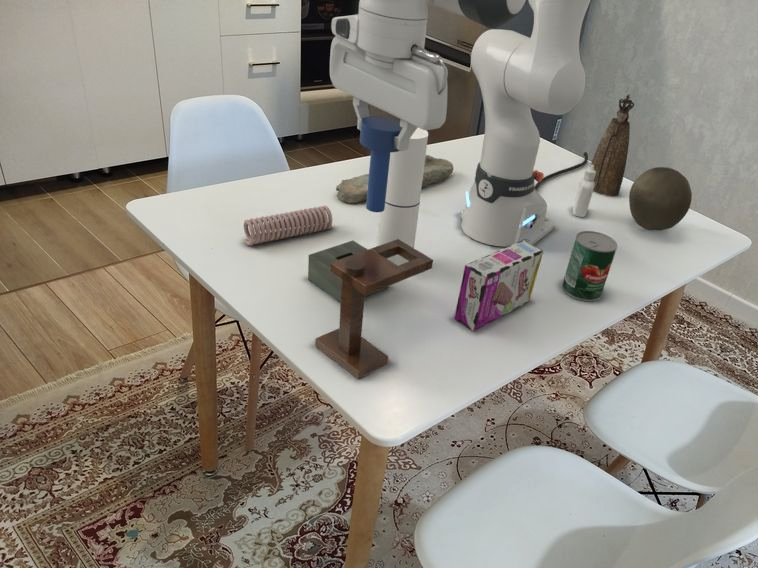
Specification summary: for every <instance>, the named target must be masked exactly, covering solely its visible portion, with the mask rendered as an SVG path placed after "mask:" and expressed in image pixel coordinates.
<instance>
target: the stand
mask: <svg viewBox="0 0 758 568" xmlns="http://www.w3.org/2000/svg"><path fill="white" fill-rule="evenodd" d="M397 254H398V255H400V256H401V257H403V258H405V259H406V260H408V261H409V262H406V263H404V264H401V265H399V266H397V265H396V264H394V263H393V262H391V261H389V260H388V259H387V258H389V257H392V256H395V255H397ZM433 264H434V259H432V258H431V257H429V256H427V255H426V254H424V253H423V252H421V251H419V250H417V249H416V248H415V247H414V248H412V247H411V246H409V245H407V244H406V243H404V242H402V241H401V240H399V239H397V240H394V241H391V242H388V243H386V244H383V245H380V246H377V247H376V246H374V247H371V248H369V249H368V250H365V251H363V252H360V253H357V254H354V255H351V256H348V257H345V258H342V259H340V260H337V261H334V262H331V263H330V272H332V273H333V274H334V275H336V276H337V277H339V278H340V279H342V287H341V302H340V308H339V326H338V328H336V329H334V330H331V331H329V332H327V333H325V334H322V335H320V336H318V337H316V338H315V339H314V340H315V341H314V346H315V347H316V348H317V349H318V350H319V351H321V352H322V353H323V354H325V355H326V356H328V357H329V358H330V359H331V360H333V361H334V362H335V363H337V364H338V365H339V366H341V367H342V369H344V370H345V371H347V372H348V373H349V374H351V375H352V376H353V377H354V378H356V379H357V380H359V379H361V378H363V377H365V376H367V375H369V374H370V373H373V372H375V371H376V370H378V369H380V368H383V367H384V366H386V365H388V363H389V355H388V354H386V353H385V352H383V351H382V350H381V349H379V348H378V347H376V346H375V345H374V344H372V343H371V342H369V341H368V340H367V339H365V338H364V337H362V334H363V333H362V332H363V321H364V320H363V319H364V310H365V309H364V308H365V307H364V306H365V298H366V297H365V295H368V294H370V293H373V292H375V291H377V290H380V289H382V288H385V287H387V286H388V287H390V286H392V285H395V284H397V283H400V282H402V281H405V280H407V279H409V278H412V277H415V276H416V275H419V274H422V273H424V272H427V271H429V270H431V269H433Z"/></svg>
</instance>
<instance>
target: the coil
mask: <svg viewBox="0 0 758 568" xmlns="http://www.w3.org/2000/svg"><path fill="white" fill-rule="evenodd" d="M332 228H333V214H332V211H331V209H330V208H329V206H328V205H322V206H321V205H320V206H315V207H310V208H304V209H299V210H294V211H293V210H292V211H288V212H287V211H286V212H284V213H283V212H281V213H279V214H278V213H276V214H271V215H266V216H261V217H256V218H250V219H245V220H244V221H243V231H244V234H245V237H246V239H245V241H244V243H245V244H246V246H253V245H258V244H263V243H268V242H273V241H277V240H282V239H287V238H292V237H296V236H301V235H306V234H311V233H316V232H320V231H325V230H327V231H328V230H329V229H332Z"/></svg>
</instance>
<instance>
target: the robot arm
mask: <svg viewBox="0 0 758 568" xmlns="http://www.w3.org/2000/svg"><path fill="white" fill-rule="evenodd" d="M527 3H528V4H529V7H530V8H531V10H532V12H533V27H532V33H531V35H530V36H526V35H524V34H523V33H519V32H517V31H514V30H512V29H511V30H510V29H501V28H502V27H504V26H506V25H507V24H509V23H510V22H512V21H513V20H515V19H516V18H517V17H518V16H519V15H520V14H521V12H522V11H523V10H524V8H525V7H526V4H527ZM590 3H591V0H359V2H358V13H355V14H352V15H343V16H335V17H333V18H332V19H331V32H332V34H333V35H334V37H333V39H332V41H331V44H330V53H329V55H330V56H329V77H330V81H331V84H332V86H333V88H335V89H337V90H339V91H342V92H344V93H345V94H347V95H350V96H351V97H352V106H353V108H354V111H355V114H356V117H357V126H356V128H357V130H359V131H361V120H362V119H363V118H365V117H369V116H371V114H370V110H369V105H371V106H372V107H375V108H377V109H379V110H381V111H383V112H384V113H387V114H389V115H391V116H394V117H395V118H398V119H400V120H399V121H400V127H403V128H402V130H401V132H400V134H399V135H395V136H393V142H394V143H393V147H394V148H396V149H398V150H400V151H405V150H407V149H408V148H409V140H410V138H411V136H412V135H413V133H414V132H415V131H416V129H417V128H420V129H422V130H426V131H431V130H436V129H440V128H441V127H442V126H443V125H444V124H445V123H446V120H447V114H448V113H447V112H448V111H447V110H448V90H449V89H448V75H449V71H448V68H447V66H446V64H445V62H444V60H442V56H441V55H440V54H438V53H436V52H431V51H429V50H427V49H426V48H425V46H426V45H425V44H426V36H427V27H428V17H429V10H428V9H429V8H428V5H430V6H433V7H435V8H438V9H440V10H443V11H447V12H450V13H452V14H455V15H458V16H462V17H465V18H467V19H468V20H470V21H473V22H475V23H477V24H480V25H481V26H484V27H486V28H488V30H486V31H484V32H483V33H481V35H480V36H479V37H478V38H477V39H476V40H475V43H474V45H473V47H472V50H471V54H470V66H471V70H472V72H473V74H474V76H475V78H476V80H477V83H478V85H479V88H480V91H481V97H482V103H483V109H484V111H483V112H484V133H483V134H484V135H483V141H482V148H481V155H480V161H479V162H478V163H477V165H476V166H477V167H476V169H475V173H474V174H475V176H474V182H472V183H471V185H470V189H469V192H468V190H466V191H465V198H466V199H465V200H466V203H465V207H464V209H462V210H461V211H460V215H459V216H460V219H461V224H460V227H461V230H462V231H463V233H464V234H465V235H467V236H468V237H469V238H471V239H473V240H474V241H477V242H479V243H482V244H485V245H490V246H494V247H504V248H506V247H508V246H510V245H513V244H515V243H517V242H520V241H522V240H525V241H526V242H528V243H530V244H532V245H533V246H535V244H537V243H538V242H539V241H540V240H541V239H543V238H544V237H545V236H547V235H548V234H550V233H551V232H552V231H553V230H554V226H555V225H554V223H553V222H552V221H551V220H550V219H549V218H548V217H546V215H547V209H548V205H547V204H548V203H547V202H546V201H547V200H545V198H544V197H543V196H542V195H541V194H540V193H539V192H538V189H539V187H540V186H541V185H542V184H543V183H545V182H546V181H548V180H549V179H551V178H554V177H557V176H560V175H562V174H565V173H568V172H571V171H573V170H576V169H580V168H581V167H584V166H585V165H586V164H587V163H588V161H589V154H588V152H587V151H584V152H583V157H584V160H583V161H582V162H580V163H577V164H575V165H572V166H570V167H567V168H564V169H561V170H558V171H555V172H553V173H550V174H548V175H546V176H545V174H544V172H542V171H539V170H537V169H535V165H536V161H537V156H538V152H539V148H540V144H541V136H540V135H541V134H540V132H539V129H538V127H537V125H536V123H535V121H534V119H533V115H532V111H531V109H532V110H535V112H536V111H537V112H539V113H545V114H550V115H555V116H563V115H565V114H568V113H570V111H571V110H573V109H574V108H575V107H576V106H577V104H578V103H579V102H580V101H581V99H582V97H583V96H584V92H585V87H586V72H585V68H584V66H583V64H582V60H581V55H580V54H581V53H580V37H581V31H582V26H583V22H584V18H585V15H586V13H587V10H588V8H589V6H590ZM535 181H536V184H535Z"/></svg>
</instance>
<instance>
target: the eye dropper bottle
mask: <svg viewBox="0 0 758 568" xmlns="http://www.w3.org/2000/svg"><path fill="white" fill-rule="evenodd" d="M590 165H591V164H590ZM590 165H589V168H586V169H585V171H584V175H583V178H582V179H581V180H580V182H579V185H578V187H577V192H576V196H575V199H574V203H573V208H572V214H573V216H575V217H579V218H584V217H586V216H587V213H588V209H589V207H590V204H591V199H592V196H593V193H594V191H593V189H594V185H595V184H594V181H593V180H594V178H595V174H596V171H595V170H594V165H591V166H590Z"/></svg>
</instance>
